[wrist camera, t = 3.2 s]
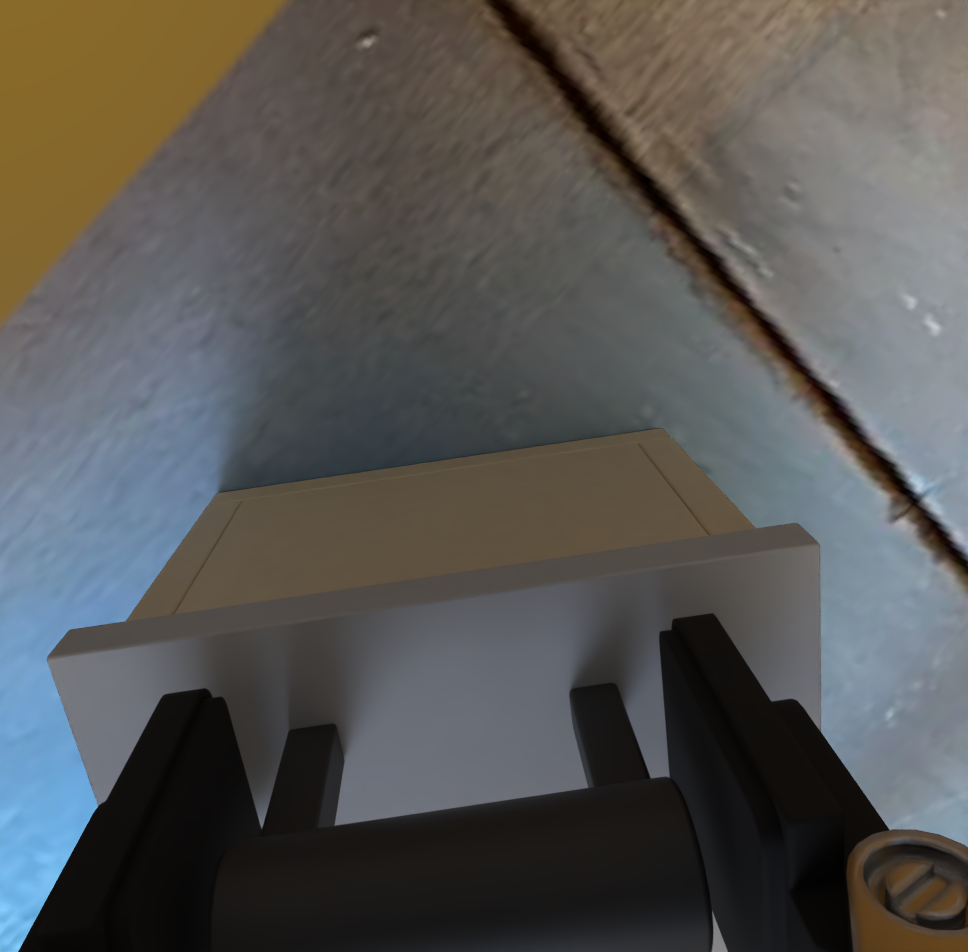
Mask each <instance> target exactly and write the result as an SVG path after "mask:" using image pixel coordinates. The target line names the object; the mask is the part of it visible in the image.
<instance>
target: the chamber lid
mask: <svg viewBox="0 0 968 952" xmlns="http://www.w3.org/2000/svg"><path fill="white" fill-rule="evenodd" d="M709 613H714V614H715V616H716V617H717V618H718V620H719V621H720V623H721V624H722V626H723V628H724V629H725V631H726V632H727V634H728V635H729V637H730V638H731V640H732V641H733V643H734V644H735V646H736V648H737V649H738V651H739V652H740V654H741V655H742V657H743V658H744V660H745V661H746V663H747V665H748V666H749V668H750V669H751V671H752V672H753V674H754V675H755V677H756V678H757V680H758V681H759V683H760V685H761V686H762V688H763V689H764V691H765V692H766V694H767V695H768V697H769V698H770V700H771V701H778V700H784V699H791V698H792V699H795V700H797V701H798V702H799V703H800V704H801V705H802V706H803V707H804V709H805V710H806V712H807V713H808V715H809V716H810V717H811V719H812V720H813V722H814V723H815V725H816V726H817V727H818V729H819V730H820V732H821V645H820V544H819V543H818V542H817V541H816V540H815V539H814V538H813V537H812V536H811V535H810V534H809V533H808V532H807V531H806V530H805V529H803V528H802V527H801V526H800V525H799V524H798V523H791V524H784V525H777V526H770V527H764V528H757V529H750V530H743V531H736V532H730V533H723V534H716V535H709V536H703V537H696V538H689V539H682V540H675V541H669V542H662V543H655V544H648V545H641V546H635V547H628V548H621V549H614V550H607V551H601V552H594V553H587V554H580V555H574V556H567V557H560V558H553V559H546V560H540V561H533V562H526V563H519V564H512V565H506V566H499V567H492V568H485V569H478V570H472V571H465V572H458V573H451V574H444V575H438V576H431V577H424V578H417V579H411V580H404V581H397V582H390V583H383V584H377V585H370V586H363V587H356V588H349V589H343V590H336V591H329V592H322V593H315V594H309V595H302V596H295V597H288V598H282V599H275V600H268V601H261V602H254V603H248V604H241V605H234V606H227V607H220V608H214V609H207V610H200V611H193V612H186V613H180V614H173V615H166V616H159V617H153V618H146V619H139V620H132V621H125V622H119V623H112V624H105V625H98V626H91V627H85V628H78V629H71V630H69V631H68V632H67V633H66V635H65V636H64V637H63V638H62V639H61V641H60V642H59V643H58V644H57V646H56V647H55V648H54V649H53V650H52V652H51V653H50V654H49V655H48V657H47V661H48V664H49V667H50V670H51V673H52V676H53V679H54V681H55V684H56V687H57V690H58V693H59V696H60V698H61V701H62V704H63V707H64V710H65V713H66V715H67V718H68V721H69V724H70V727H71V730H72V733H73V735H74V738H75V741H76V744H77V747H78V750H79V752H80V755H81V758H82V761H83V764H84V767H85V769H86V772H87V775H88V778H89V781H90V784H91V787H92V789H93V792H94V795H95V798H96V801H97V804H98V806H99V805H100V804H101V803H103V802H105V801H106V800H107V798H108V796H109V794H110V792H111V790H112V789H113V787H114V785H115V783H116V781H117V779H118V777H119V775H120V774H121V772H122V770H123V768H124V766H125V764H126V762H127V760H128V759H129V757H130V755H131V753H132V751H133V749H134V747H135V745H136V744H137V742H138V740H139V738H140V736H141V734H142V732H143V730H144V729H145V727H146V725H147V723H148V721H149V719H150V717H151V715H152V714H153V712H154V710H155V708H156V706H157V704H158V702H159V700H160V699H161V697H162V696H163V695H165V694H168V693H175V692H182V691H189V690H195V689H202V688H206V689H208V690H209V691H210V693H211V694H212V697H220V696H221V697H223V698H224V699H225V701H226V704H227V706H228V710H229V714H230V717H231V721H232V724H233V728H234V732H235V735H236V739H237V742H238V746H239V750H240V753H241V757H242V761H243V764H244V768H245V771H246V775H247V779H248V782H249V786H250V789H251V793H252V797H253V800H254V804H255V808H256V811H257V815H258V818H259V822H260V826H261V829H262V832H261V835H260V837H255V838H249V839H242V840H237V841H235V842H233V843H232V844H230V845H228V846H227V847H226V848H225V850H224V851H223V853H222V855H221V857H220V859H219V862H218V864H217V867H216V871H215V874H214V879H213V883H212V888H211V894H210V901H209V910H208V924H207V949H208V952H728V951H727V948H726V946H725V943H724V941H723V938H722V935H721V933H720V930H719V927H718V925H717V922H716V920H715V917H714V914H713V912H712V906H711V899H710V893H709V887H708V881H707V876H706V871H705V866H704V862H703V857H702V853H701V849H700V845H699V841H698V837H697V834H696V830H695V827H694V824H693V820H692V817H691V814H690V811H689V808H688V806H687V803H686V801H685V798H684V796H683V794H682V792H681V790H680V788H679V787H678V785H677V784H676V782H675V781H674V780H673V779H672V778H670V776H669V763H668V750H667V737H666V724H665V711H664V698H663V685H662V672H661V659H660V646H659V633H660V631H666V630H671V626H672V620H673V619H676V618H682V617H689V616H696V615H703V614H709Z"/></svg>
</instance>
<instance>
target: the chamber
mask: <svg viewBox="0 0 968 952" xmlns="http://www.w3.org/2000/svg"><path fill="white" fill-rule="evenodd" d="M750 529H756V528H755V527H754V526H753V525H752V524H751V522H750V521H749V520H748V519H747V518H746V517H745V516H744V515H743V514H742V513H741V512H740V511H739V510H738V508H737V507H736V506H735V505H734V504H733V503H732V502H731V501H730V500H729V499H728V498H727V497H726V496H725V494H724V493H723V492H722V491H721V490H720V489H719V488H718V487H717V486H716V485H715V484H714V483H713V482H712V481H711V479H710V478H709V477H708V476H707V475H706V474H705V473H704V472H703V471H702V470H701V469H700V468H699V467H698V465H697V464H696V463H695V462H694V461H693V460H692V459H691V458H690V457H689V456H688V455H687V454H686V453H685V451H684V450H683V449H682V448H681V447H680V446H679V445H678V444H677V443H676V442H675V441H674V440H673V439H672V438H671V436H670V435H669V434H668V433H667V432H666V431H665V430H664V429H662V428H659V429H653V430H646V431H639V432H632V433H625V434H618V435H612V436H605V437H598V438H591V439H584V440H577V441H571V442H564V443H557V444H550V445H543V446H536V447H530V448H523V449H516V450H509V451H502V452H495V453H489V454H482V455H475V456H468V457H461V458H454V459H448V460H441V461H434V462H427V463H420V464H413V465H407V466H400V467H393V468H386V469H379V470H372V471H366V472H359V473H352V474H345V475H338V476H331V477H325V478H318V479H311V480H304V481H297V482H290V483H284V484H277V485H270V486H263V487H256V488H249V489H243V490H236V491H229V492H222V493H217V494H216V495H215V496H214V498H213V499H212V500H211V502H210V503H209V505H208V506H207V507H206V508H205V510H204V511H203V513H202V514H201V515H200V517H199V518H198V520H197V521H196V522H195V524H194V525H193V527H192V528H191V530H190V531H189V532H188V534H187V535H186V537H185V538H184V539H183V541H182V542H181V544H180V545H179V547H178V548H177V549H176V551H175V552H174V554H173V555H172V556H171V558H170V559H169V561H168V562H167V563H166V565H165V566H164V568H163V569H162V571H161V572H160V573H159V575H158V576H157V578H156V579H155V580H154V582H153V583H152V585H151V586H150V588H149V589H148V590H147V592H146V593H145V595H144V596H143V597H142V599H141V600H140V602H139V603H138V605H137V606H136V607H135V609H134V610H133V612H132V613H131V614H130V616H129V617H128V619H127V620H126V621H132V620H139V619H146V618H153V617H159V616H166V615H173V614H180V613H186V612H193V611H200V610H207V609H214V608H220V607H227V606H234V605H241V604H248V603H254V602H261V601H268V600H275V599H282V598H288V597H295V596H302V595H309V594H315V593H322V592H329V591H336V590H343V589H349V588H356V587H363V586H370V585H377V584H383V583H390V582H397V581H404V580H411V579H417V578H424V577H431V576H438V575H444V574H451V573H458V572H465V571H472V570H478V569H485V568H492V567H499V566H506V565H512V564H519V563H526V562H533V561H540V560H546V559H553V558H560V557H567V556H574V555H580V554H587V553H594V552H601V551H607V550H614V549H621V548H628V547H635V546H641V545H648V544H655V543H662V542H669V541H675V540H682V539H689V538H696V537H703V536H709V535H716V534H723V533H730V532H736V531H743V530H750Z"/></svg>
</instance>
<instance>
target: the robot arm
mask: <svg viewBox="0 0 968 952" xmlns="http://www.w3.org/2000/svg"><path fill="white" fill-rule="evenodd" d="M659 646H660V659H661V672H662V685H663V698H664V711H665V724H666V737H667V750H668V763H669V776H670V778H672V779H673V780H674V781H675V782H676V784H677V785H678V787H679V788H680V790H681V792H682V794H683V796H684V798H685V801H686V803H687V806H688V808H689V811H690V814H691V817H692V820H693V824H694V827H695V830H696V834H697V837H698V841H699V845H700V849H701V853H702V857H703V862H704V866H705V871H706V876H707V881H708V887H709V893H710V899H711V906H712V912H713V914H714V917H715V920H716V922H717V925H718V927H719V930H720V933H721V935H722V938H723V941H724V943H725V946H726V948H727V951H728V952H968V847H966V846H965V845H963V844H961V843H959V842H956V841H954V840H951V839H949V838H946V837H944V836H942V835H939V834H934V833H929V832H924V831H920V830H898V829H892V830H889V829H888V827H887V826H886V824H885V823H884V821H883V820H882V819H881V817H880V816H879V814H878V813H877V811H876V810H875V809H874V807H873V806H872V804H871V803H870V801H869V800H868V799H867V797H866V796H865V794H864V793H863V791H862V790H861V789H860V787H859V786H858V784H857V783H856V782H855V780H854V779H853V777H852V776H851V774H850V773H849V772H848V770H847V769H846V767H845V766H844V764H843V763H842V762H841V760H840V759H839V757H838V756H837V754H836V753H835V752H834V750H833V749H832V747H831V746H830V745H829V743H828V742H827V740H826V739H825V737H824V736H823V735H822V733H821V732H820V730H819V729H818V727H817V726H816V725H815V723H814V722H813V720H812V719H811V717H810V716H809V715H808V713H807V712H806V710H805V709H804V707H803V706H802V705H801V704H800V703H799V702H798V701H797V700H795V699H792V698H791V699H784V700H778V701H771V700H770V698H769V697H768V695H767V694H766V692H765V691H764V689H763V688H762V686H761V685H760V683H759V681H758V680H757V678H756V677H755V675H754V674H753V672H752V671H751V669H750V668H749V666H748V665H747V663H746V661H745V660H744V658H743V657H742V655H741V654H740V652H739V651H738V649H737V648H736V646H735V644H734V643H733V641H732V640H731V638H730V637H729V635H728V634H727V632H726V631H725V629H724V628H723V626H722V624H721V623H720V621H719V620H718V618H717V617H716V616H715V614H714V613H709V614H703V615H696V616H689V617H682V618H676V619H673V620H672V626H671V630H666V631H660V633H659ZM261 832H262V829H261V826H260V822H259V818H258V815H257V811H256V808H255V804H254V800H253V797H252V793H251V789H250V786H249V782H248V779H247V775H246V771H245V768H244V764H243V761H242V757H241V753H240V750H239V746H238V742H237V739H236V735H235V732H234V728H233V724H232V721H231V717H230V714H229V710H228V706H227V704H226V701H225V699H224V698H223V697H221V696H220V697H212V694H211V693H210V691H209V690H208V689H206V688H202V689H195V690H189V691H182V692H175V693H168V694H165V695H163V696H162V697H161V699H160V700H159V702H158V704H157V706H156V708H155V710H154V712H153V714H152V715H151V717H150V719H149V721H148V723H147V725H146V727H145V729H144V730H143V732H142V734H141V736H140V738H139V740H138V742H137V744H136V745H135V747H134V749H133V751H132V753H131V755H130V757H129V759H128V760H127V762H126V764H125V766H124V768H123V770H122V772H121V774H120V775H119V777H118V779H117V781H116V783H115V785H114V787H113V789H112V790H111V792H110V794H109V796H108V798H107V800H106V801H105V802H103V803H101V804H100V805H99V806H98V808H97V809H96V810H95V812H94V813H93V815H92V817H91V819H90V821H89V822H88V824H87V826H86V828H85V830H84V832H83V833H82V835H81V837H80V839H79V841H78V843H77V844H76V846H75V848H74V850H73V852H72V854H71V856H70V857H69V859H68V861H67V863H66V865H65V867H64V868H63V870H62V872H61V874H60V876H59V878H58V880H57V881H56V883H55V885H54V887H53V889H52V891H51V892H50V894H49V896H48V898H47V900H46V902H45V903H44V905H43V907H42V909H41V911H40V913H39V915H38V916H37V918H36V920H35V922H34V924H33V926H32V927H31V929H30V931H29V933H28V935H27V937H26V938H25V940H24V942H23V944H22V946H21V948H20V950H19V951H18V952H208V949H207V924H208V910H209V901H210V894H211V888H212V883H213V879H214V874H215V871H216V867H217V864H218V862H219V859H220V857H221V855H222V853H223V851H224V850H225V848H226V847H227V846H228V845H230V844H232V843H233V842H235V841H237V840H242V839H249V838H255V837H260V835H261Z"/></svg>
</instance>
